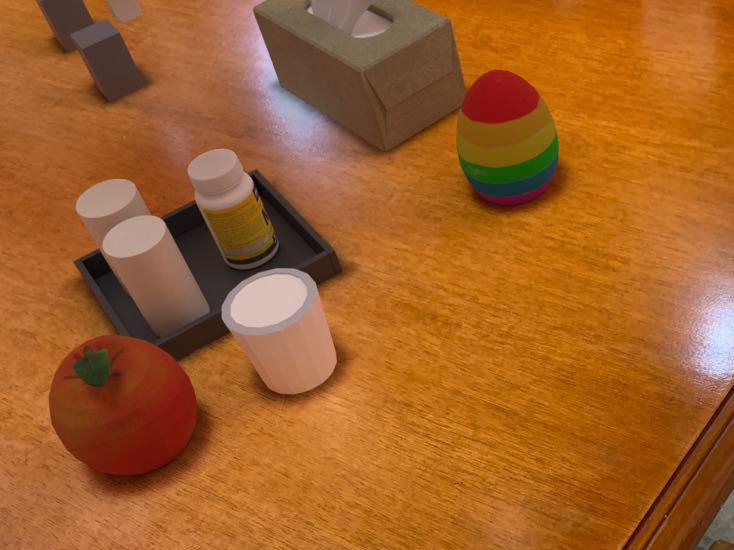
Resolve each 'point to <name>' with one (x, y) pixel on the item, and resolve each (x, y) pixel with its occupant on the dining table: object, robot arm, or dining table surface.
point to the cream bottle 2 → (155, 273)
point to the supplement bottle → (232, 209)
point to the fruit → (122, 405)
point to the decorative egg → (506, 139)
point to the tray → (211, 270)
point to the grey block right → (107, 59)
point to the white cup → (282, 329)
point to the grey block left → (65, 19)
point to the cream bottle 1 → (109, 210)
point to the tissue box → (366, 63)
